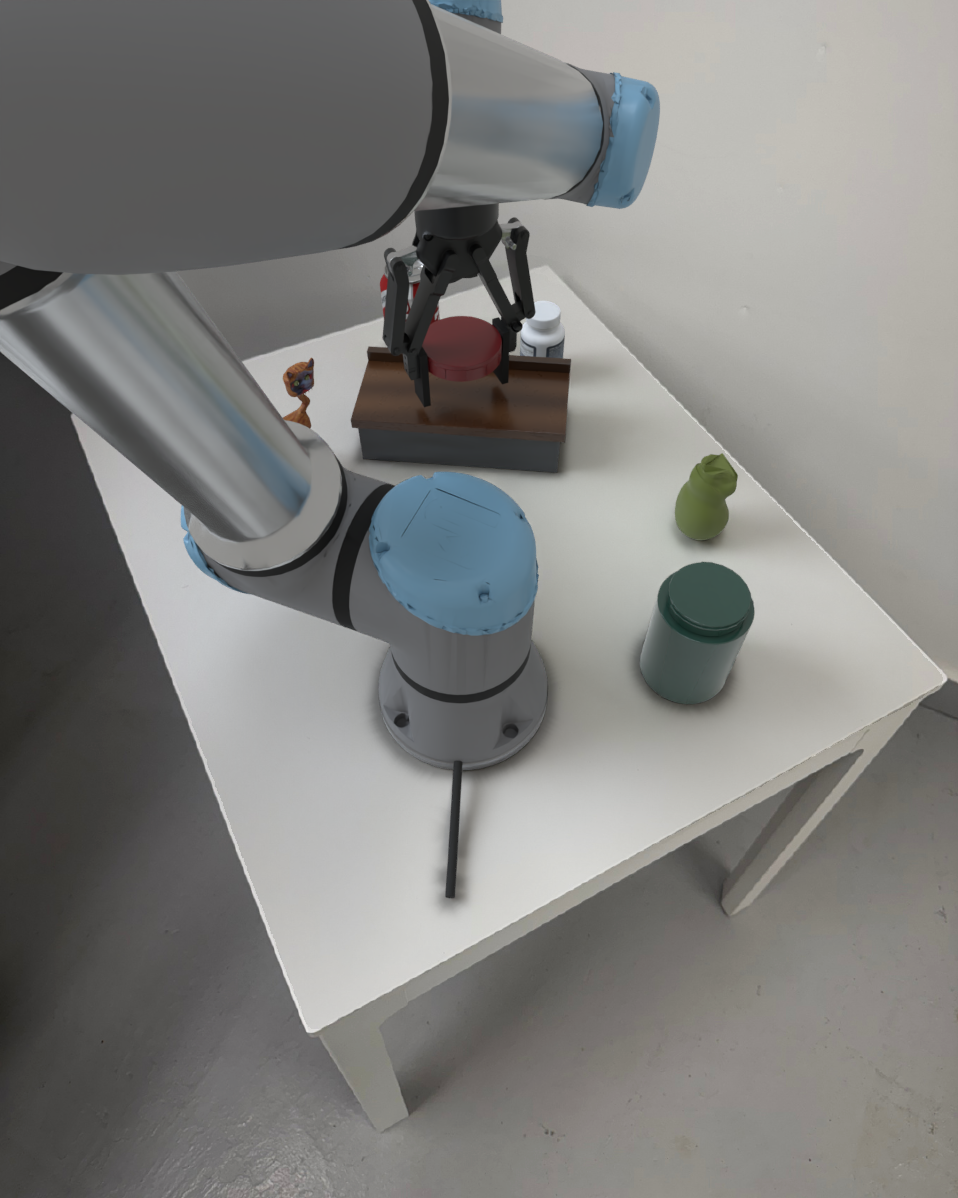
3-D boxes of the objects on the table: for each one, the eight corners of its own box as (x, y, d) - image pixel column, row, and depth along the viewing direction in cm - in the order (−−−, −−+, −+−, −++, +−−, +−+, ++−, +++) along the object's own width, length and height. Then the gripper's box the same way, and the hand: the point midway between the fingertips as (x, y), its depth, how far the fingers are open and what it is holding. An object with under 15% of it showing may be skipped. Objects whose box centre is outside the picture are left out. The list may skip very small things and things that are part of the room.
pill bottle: (562, 360, 103) (568, 298, 96) (560, 387, 100) (566, 325, 93) (520, 358, 104) (522, 295, 96) (517, 385, 100) (519, 322, 93)
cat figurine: (211, 554, 85) (170, 458, 74) (177, 520, 88) (132, 422, 77) (347, 467, 92) (328, 367, 81) (311, 438, 95) (288, 338, 84)
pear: (662, 516, 88) (680, 447, 80) (708, 506, 88) (730, 436, 80) (683, 555, 84) (704, 487, 76) (731, 544, 85) (756, 476, 77)
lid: (408, 342, 87) (407, 327, 85) (481, 323, 89) (481, 307, 87) (438, 390, 82) (437, 375, 81) (514, 368, 84) (515, 353, 83)
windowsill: (561, 476, 91) (566, 425, 85) (357, 461, 93) (348, 410, 87) (566, 410, 98) (571, 358, 92) (375, 397, 99) (368, 346, 93)
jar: (729, 708, 74) (764, 638, 65) (639, 700, 75) (661, 629, 65) (723, 634, 79) (755, 559, 69) (639, 627, 79) (659, 551, 70)
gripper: (546, 133, 75) (534, 342, 94) (324, 182, 70) (357, 392, 89) (585, 170, 71) (565, 381, 89) (352, 225, 66) (381, 436, 85)
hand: (462, 387), depth 89 cm, fingers closed on lid, 8 cm apart
